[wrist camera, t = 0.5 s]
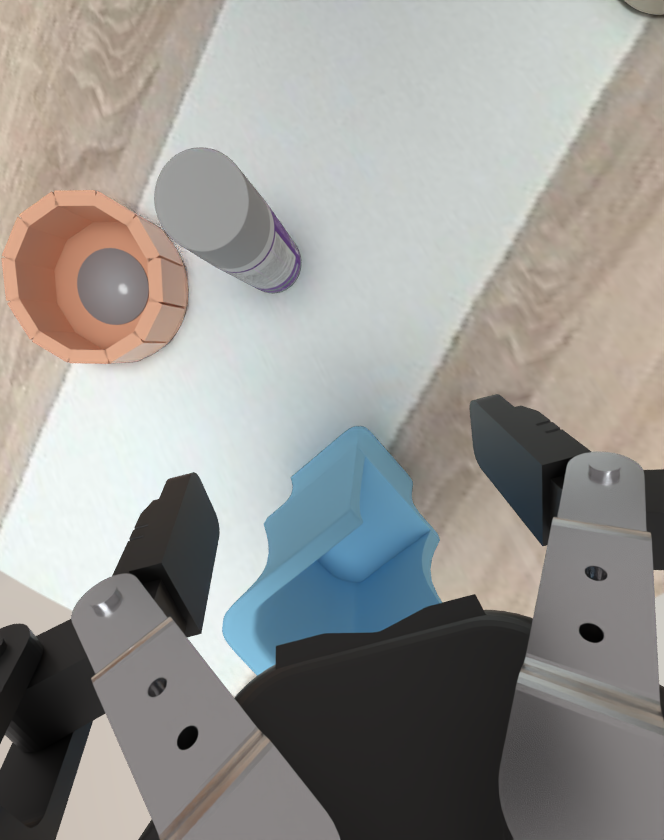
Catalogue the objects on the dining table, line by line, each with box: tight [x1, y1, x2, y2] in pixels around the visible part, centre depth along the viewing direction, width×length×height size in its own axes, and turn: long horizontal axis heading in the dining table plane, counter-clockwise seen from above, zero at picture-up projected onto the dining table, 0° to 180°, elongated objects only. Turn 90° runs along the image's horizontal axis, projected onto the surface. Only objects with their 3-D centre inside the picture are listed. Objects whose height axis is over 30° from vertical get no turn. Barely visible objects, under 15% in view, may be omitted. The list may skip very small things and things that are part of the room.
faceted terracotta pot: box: [2, 190, 188, 364], centre depth 33 cm, size 12×12×5 cm
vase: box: [222, 426, 442, 676], centre depth 27 cm, size 8×8×20 cm
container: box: [154, 148, 301, 293], centre depth 27 cm, size 5×5×15 cm
